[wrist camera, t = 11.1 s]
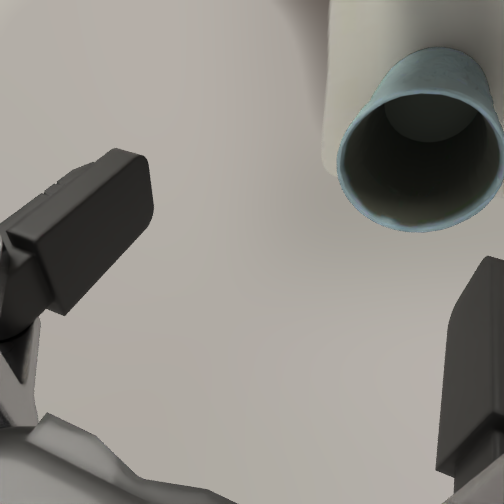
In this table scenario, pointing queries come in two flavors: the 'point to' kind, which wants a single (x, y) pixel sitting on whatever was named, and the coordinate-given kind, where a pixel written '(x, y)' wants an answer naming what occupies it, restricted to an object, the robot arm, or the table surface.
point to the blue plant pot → (424, 145)
